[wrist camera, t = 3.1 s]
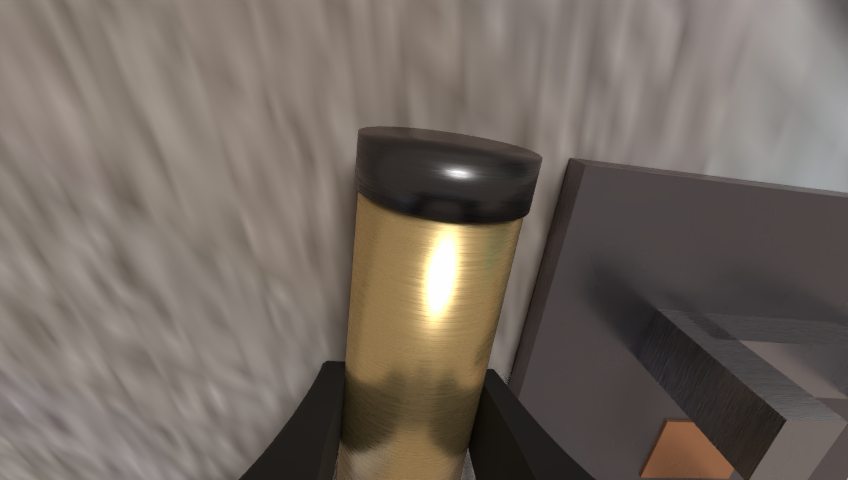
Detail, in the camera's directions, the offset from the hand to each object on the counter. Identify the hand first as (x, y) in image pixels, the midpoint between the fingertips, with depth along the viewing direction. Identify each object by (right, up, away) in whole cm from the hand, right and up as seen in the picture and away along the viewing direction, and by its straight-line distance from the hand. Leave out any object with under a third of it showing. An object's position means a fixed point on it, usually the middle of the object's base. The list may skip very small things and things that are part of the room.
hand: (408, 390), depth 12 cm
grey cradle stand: (+11, -3, +4) cm, 12 cm away
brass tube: (0, +1, +2) cm, 2 cm away
